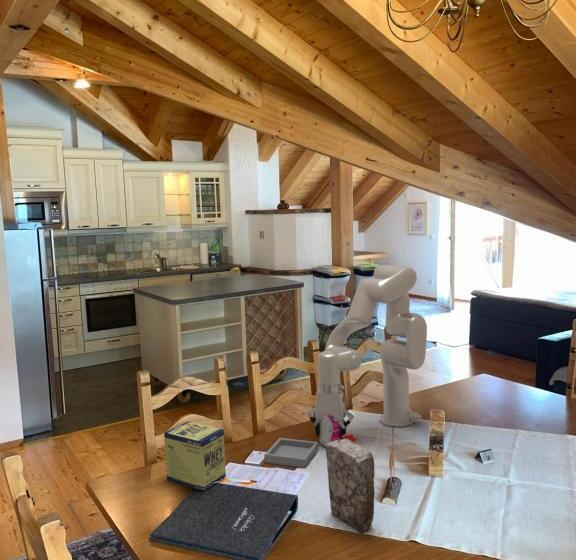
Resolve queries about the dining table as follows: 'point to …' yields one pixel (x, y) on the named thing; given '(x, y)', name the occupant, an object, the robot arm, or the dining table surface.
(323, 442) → the supplement box
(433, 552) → the dining table surface
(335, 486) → the stone block
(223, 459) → the protein box
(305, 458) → the slate tray
